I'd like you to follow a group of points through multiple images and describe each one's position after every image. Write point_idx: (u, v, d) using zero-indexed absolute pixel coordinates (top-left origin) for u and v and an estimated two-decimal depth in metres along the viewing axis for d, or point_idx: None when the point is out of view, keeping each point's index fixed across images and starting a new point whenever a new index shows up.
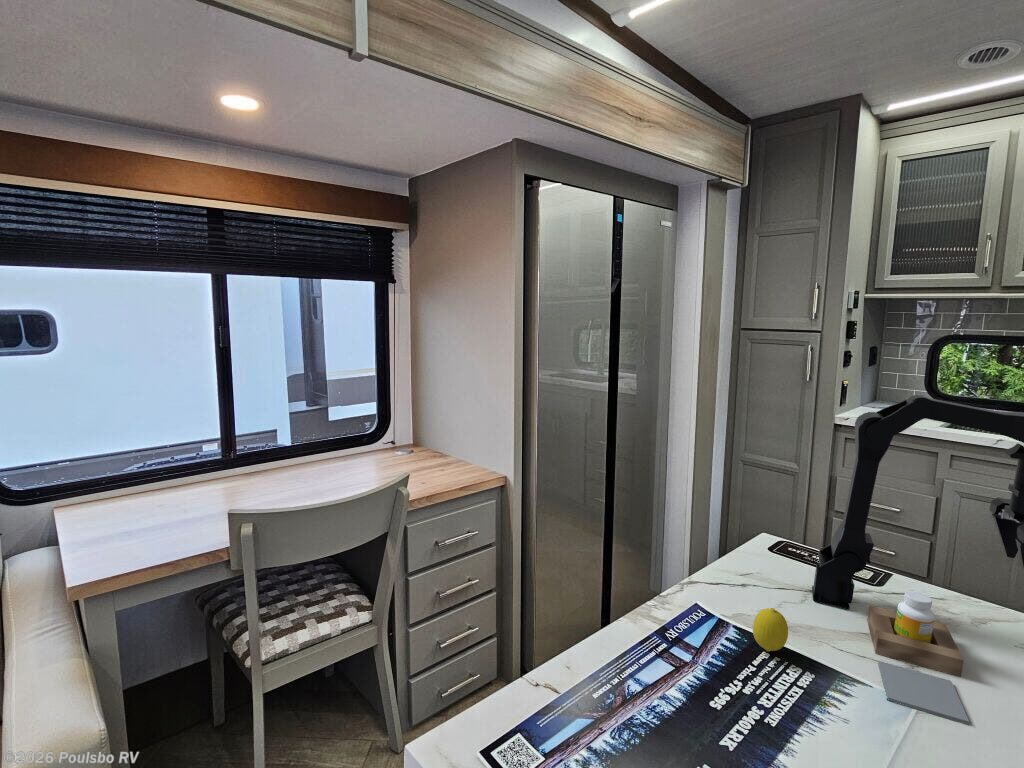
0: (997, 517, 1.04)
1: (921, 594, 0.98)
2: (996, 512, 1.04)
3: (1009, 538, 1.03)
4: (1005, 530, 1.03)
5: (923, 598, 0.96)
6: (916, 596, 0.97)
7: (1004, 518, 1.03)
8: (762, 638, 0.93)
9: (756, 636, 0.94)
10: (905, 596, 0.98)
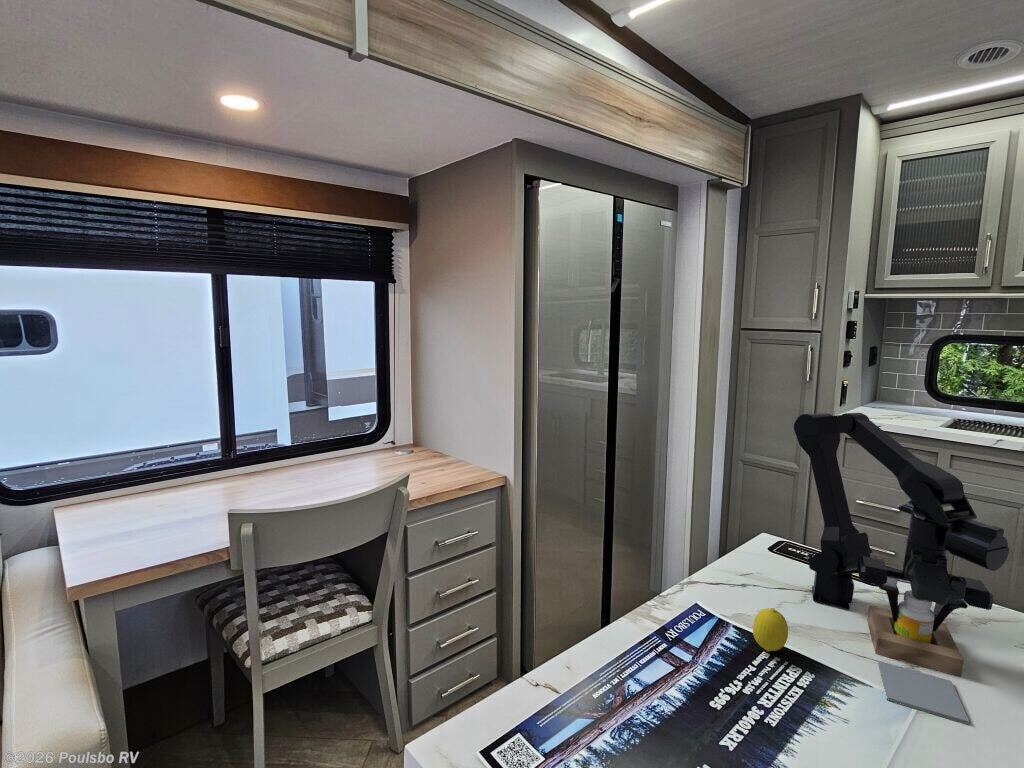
0: None
1: None
2: None
3: (936, 609, 0.97)
4: None
5: None
6: None
7: None
8: (762, 638, 0.93)
9: (756, 636, 0.94)
10: (905, 596, 0.98)
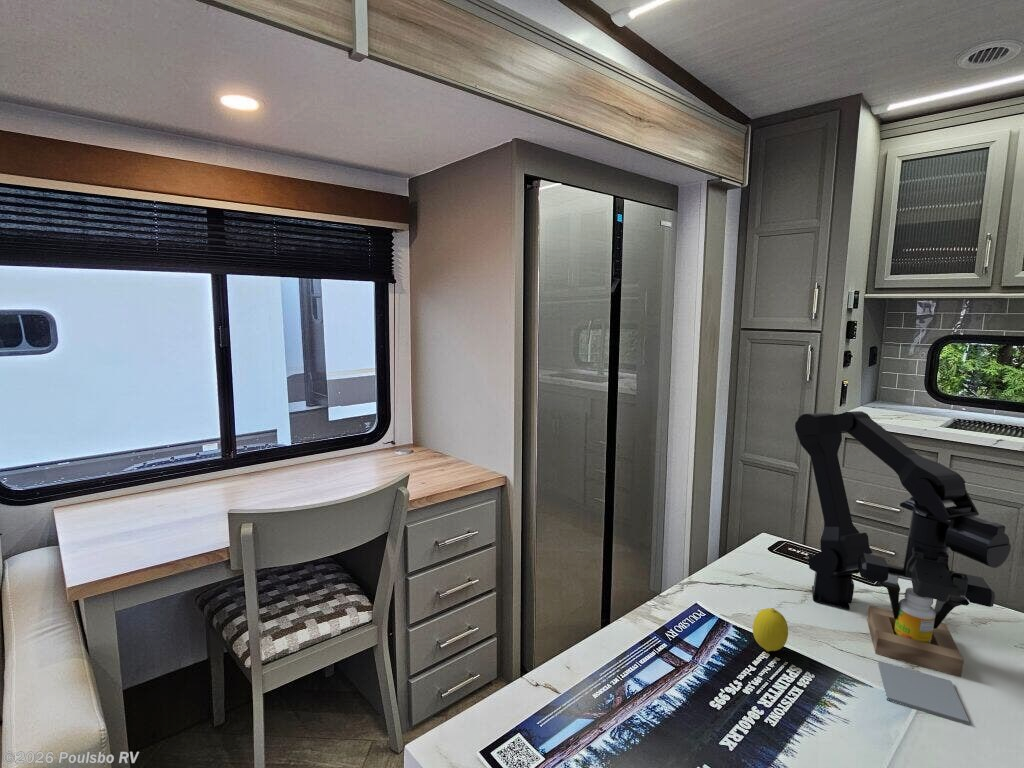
0: None
1: None
2: None
3: (937, 606, 0.96)
4: None
5: None
6: None
7: None
8: (762, 638, 0.93)
9: (756, 637, 0.94)
10: (906, 593, 0.97)
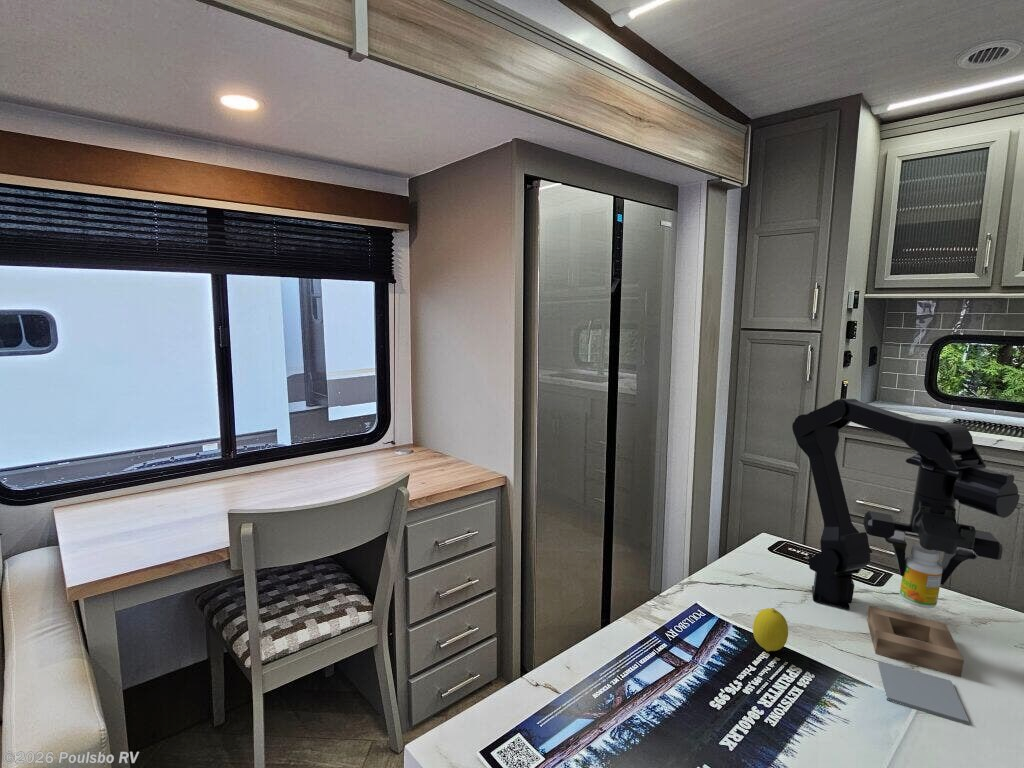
0: None
1: None
2: None
3: (944, 563, 0.95)
4: (945, 554, 0.96)
5: (931, 551, 0.95)
6: (924, 549, 0.96)
7: None
8: (762, 638, 0.93)
9: (756, 636, 0.94)
10: (912, 549, 0.96)
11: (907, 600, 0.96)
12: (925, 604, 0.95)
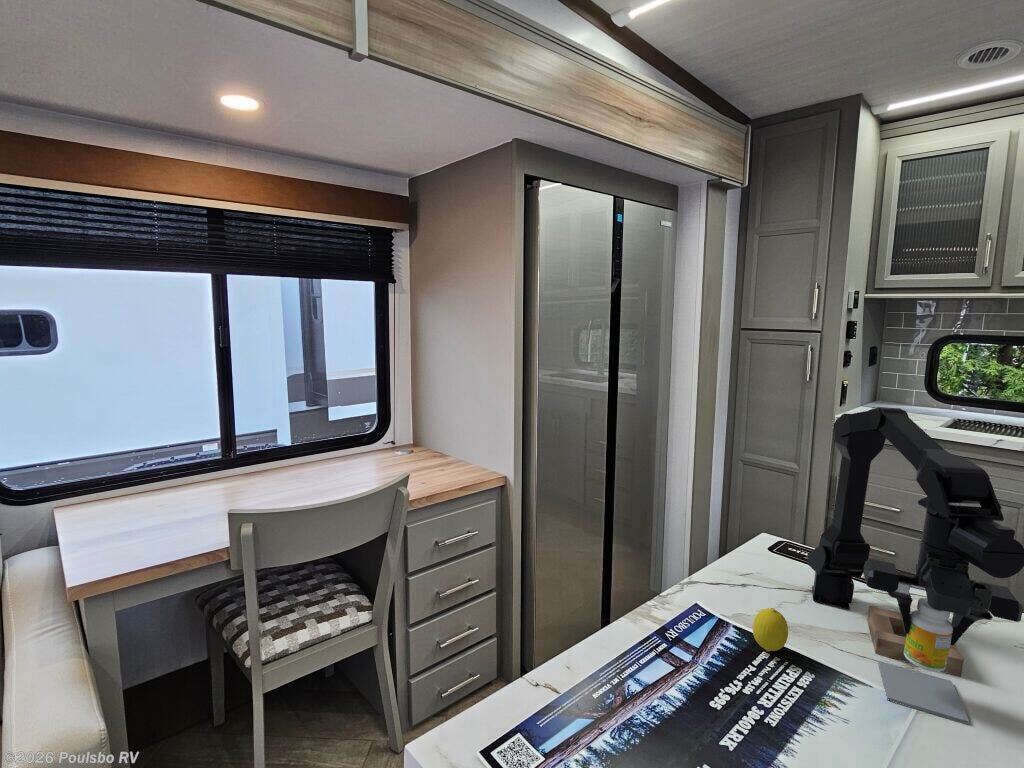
0: None
1: None
2: None
3: (954, 620, 0.84)
4: None
5: None
6: None
7: None
8: (762, 638, 0.93)
9: (756, 636, 0.94)
10: (919, 604, 0.85)
11: (912, 661, 0.85)
12: (933, 667, 0.83)
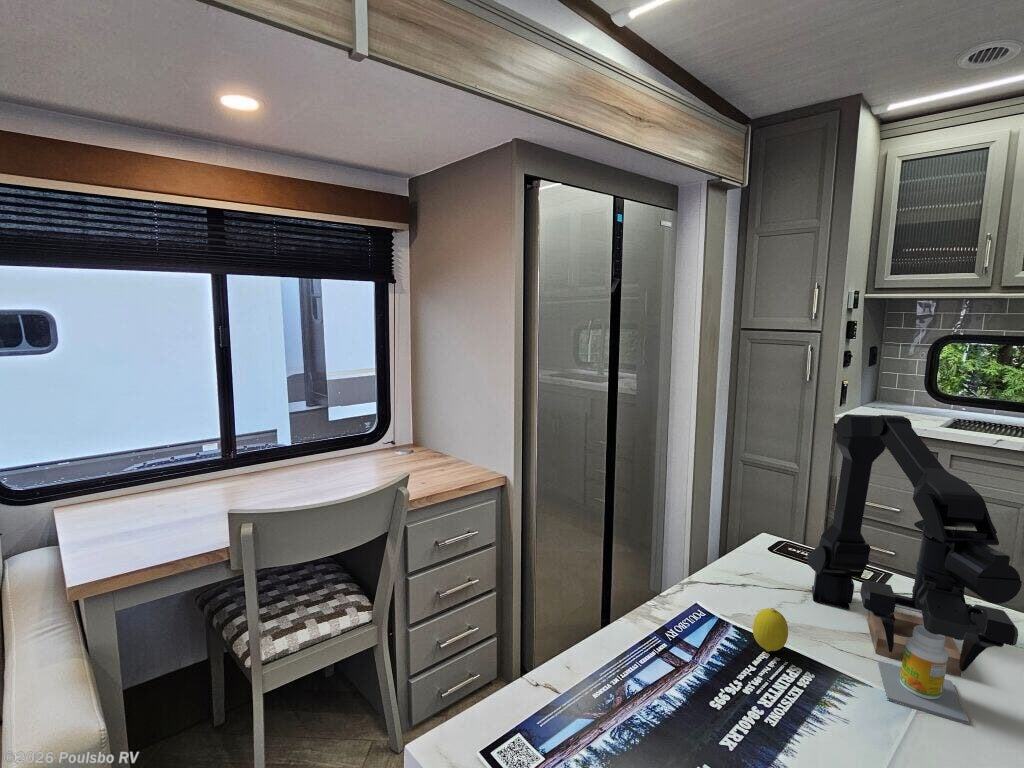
0: None
1: None
2: None
3: (965, 646, 0.84)
4: (966, 636, 0.84)
5: (935, 635, 0.84)
6: (927, 632, 0.85)
7: None
8: (762, 638, 0.93)
9: (756, 636, 0.94)
10: (914, 632, 0.86)
11: (908, 689, 0.86)
12: (928, 695, 0.84)
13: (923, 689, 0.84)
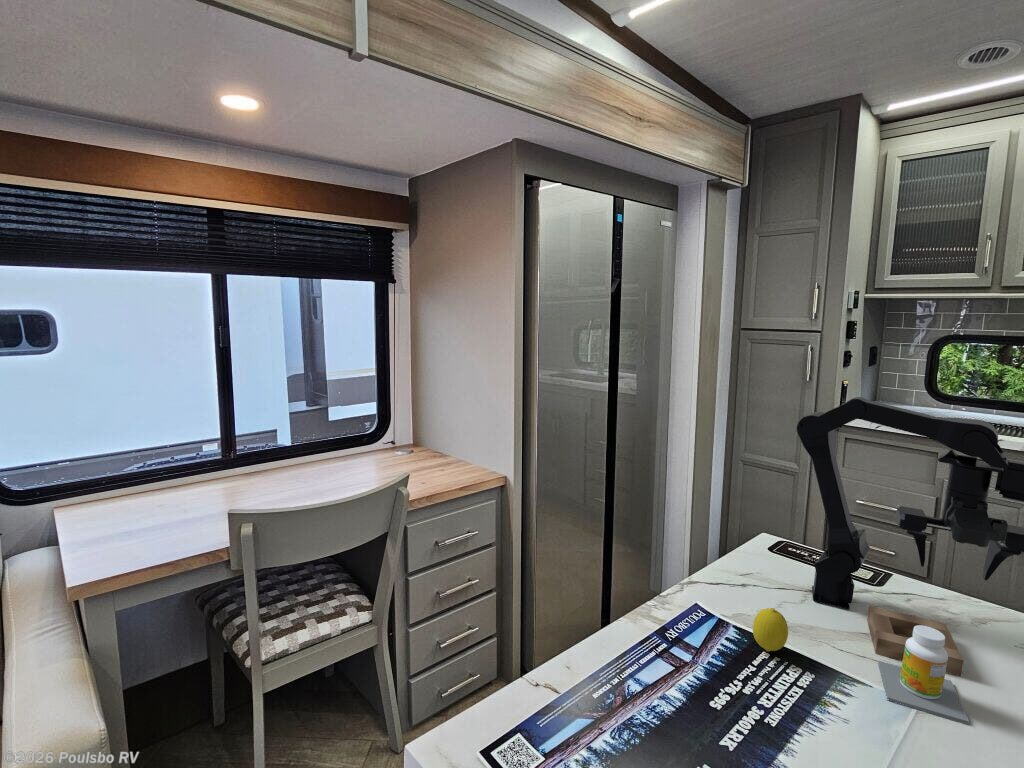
0: None
1: (932, 630, 0.86)
2: None
3: (988, 559, 0.97)
4: (989, 551, 0.98)
5: (935, 635, 0.84)
6: (927, 632, 0.85)
7: None
8: (762, 638, 0.93)
9: (756, 636, 0.94)
10: (914, 632, 0.86)
11: (908, 689, 0.86)
12: (928, 695, 0.84)
13: (923, 689, 0.84)
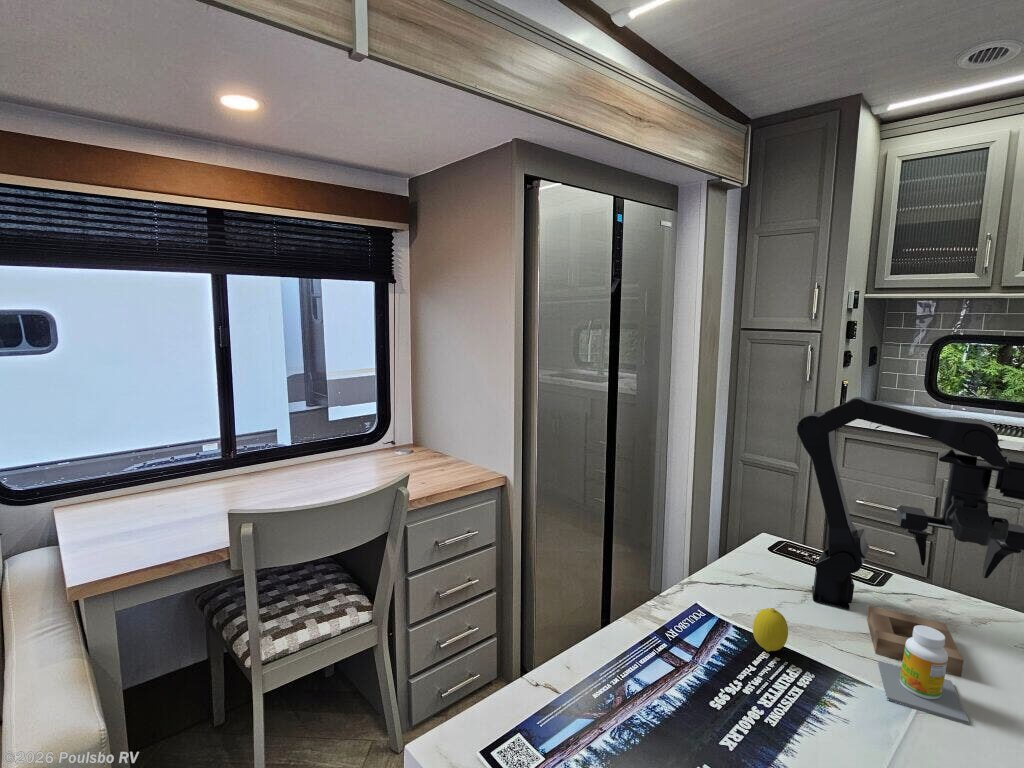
0: None
1: (932, 630, 0.86)
2: None
3: (987, 557, 0.98)
4: (989, 549, 0.98)
5: (935, 635, 0.84)
6: (927, 632, 0.85)
7: None
8: (762, 638, 0.93)
9: (756, 637, 0.94)
10: (914, 632, 0.86)
11: (908, 689, 0.86)
12: (928, 695, 0.84)
13: (923, 689, 0.84)
